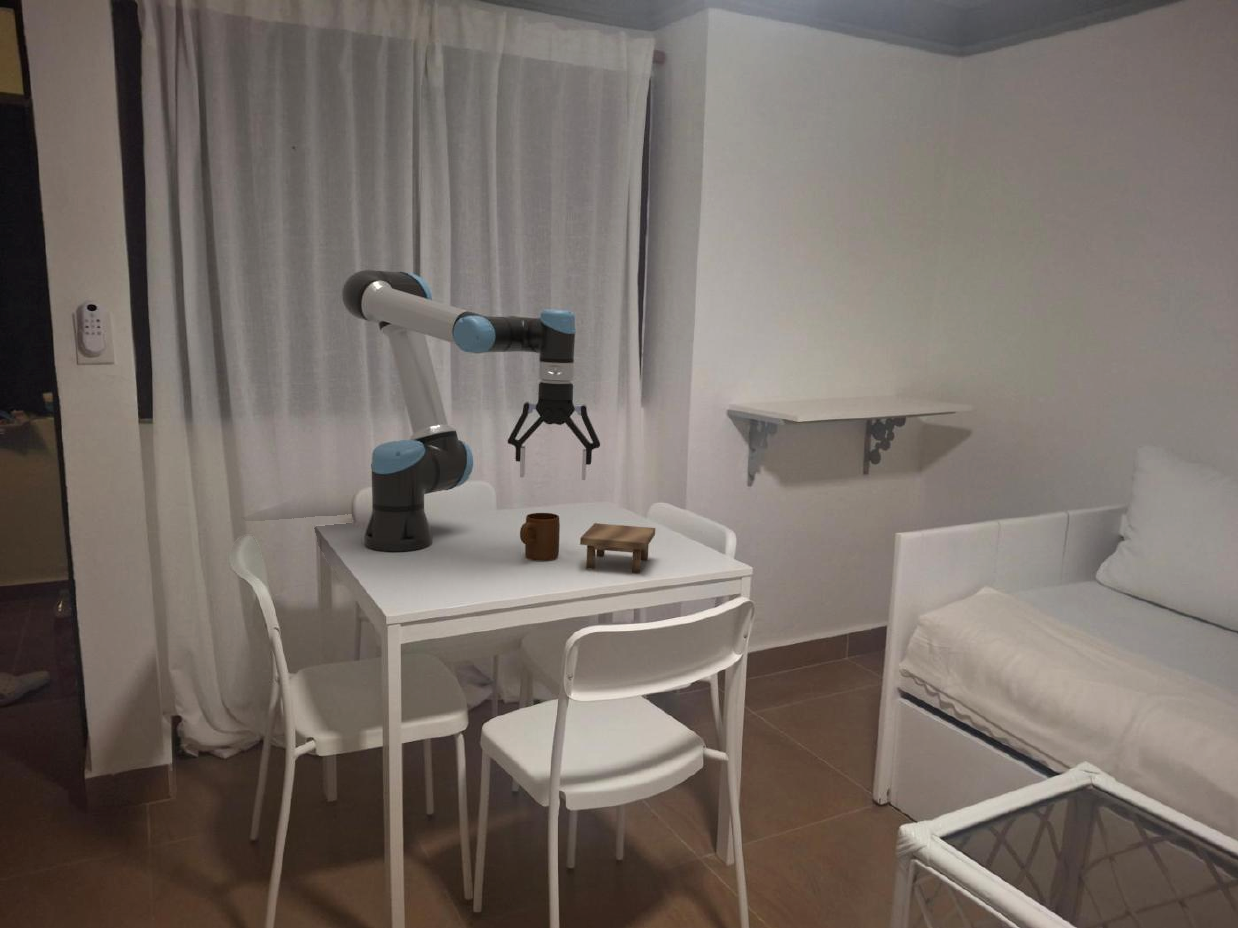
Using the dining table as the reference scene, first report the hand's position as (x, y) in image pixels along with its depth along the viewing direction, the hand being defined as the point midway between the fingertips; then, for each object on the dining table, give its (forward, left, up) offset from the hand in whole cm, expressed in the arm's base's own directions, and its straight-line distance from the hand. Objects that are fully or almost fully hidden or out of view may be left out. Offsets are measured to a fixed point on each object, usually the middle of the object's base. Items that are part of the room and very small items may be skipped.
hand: (552, 477), depth 200 cm
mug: (-2, -3, -18) cm, 19 cm away
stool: (+16, -1, -18) cm, 24 cm away
